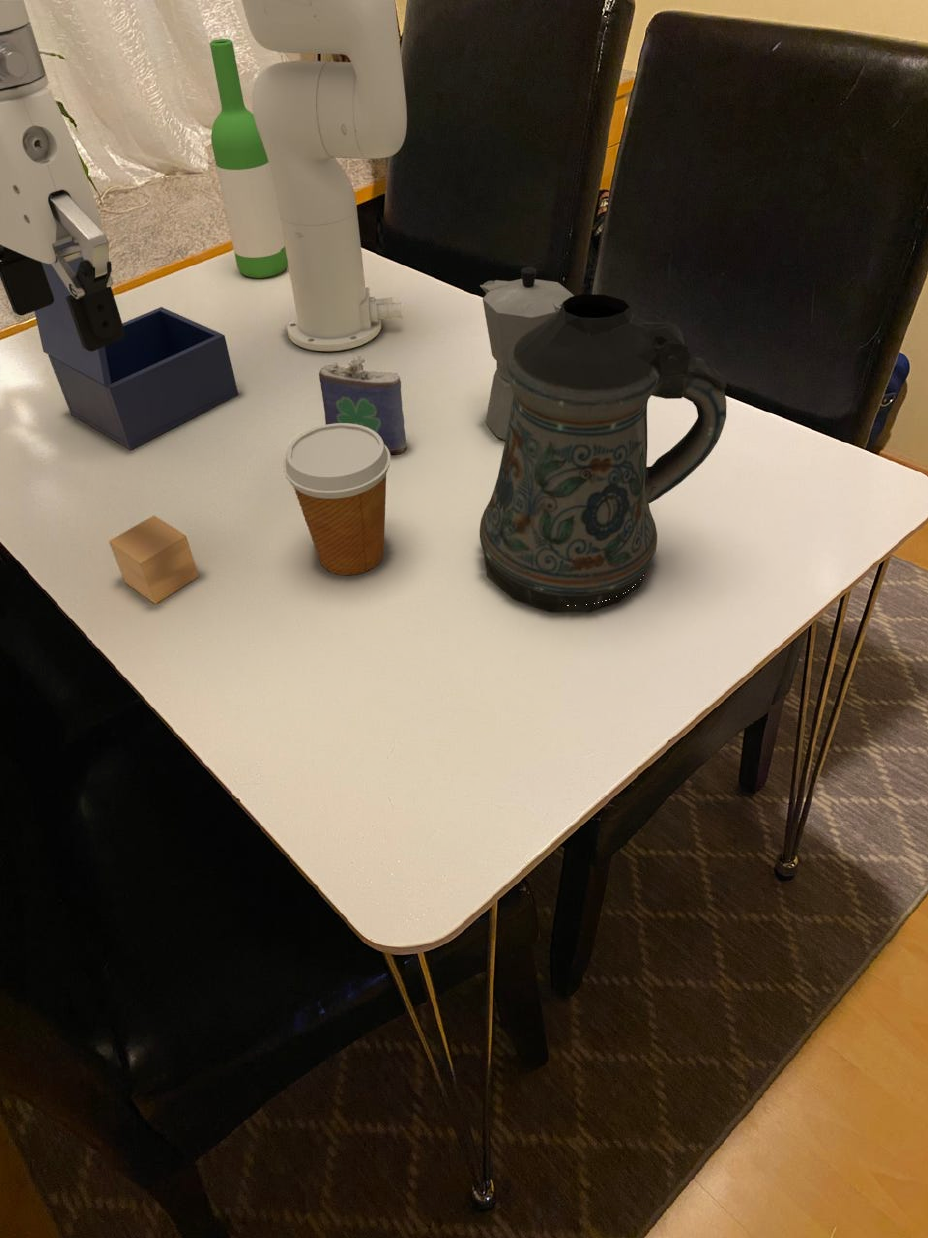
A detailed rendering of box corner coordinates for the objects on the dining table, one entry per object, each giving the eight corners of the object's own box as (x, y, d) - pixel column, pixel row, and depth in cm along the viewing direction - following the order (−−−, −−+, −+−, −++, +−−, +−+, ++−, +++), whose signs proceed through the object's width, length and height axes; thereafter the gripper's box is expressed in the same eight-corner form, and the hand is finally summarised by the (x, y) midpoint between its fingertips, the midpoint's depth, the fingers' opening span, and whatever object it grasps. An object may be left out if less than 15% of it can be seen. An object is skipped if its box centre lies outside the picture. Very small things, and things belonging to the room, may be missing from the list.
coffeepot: (456, 419, 104) (449, 265, 92) (511, 388, 109) (511, 237, 96) (558, 470, 96) (566, 308, 84) (612, 434, 101) (627, 276, 88)
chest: (177, 364, 116) (161, 306, 111) (238, 394, 110) (224, 334, 105) (70, 414, 108) (47, 354, 103) (130, 450, 102) (109, 388, 96)
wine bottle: (296, 260, 139) (260, 34, 119) (278, 281, 134) (236, 48, 113) (250, 257, 141) (206, 33, 120) (230, 278, 135) (179, 47, 115)
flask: (409, 444, 101) (401, 356, 93) (401, 458, 99) (392, 369, 91) (333, 434, 103) (319, 347, 95) (323, 448, 101) (308, 361, 93)
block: (168, 555, 88) (154, 514, 84) (199, 576, 85) (186, 535, 82) (124, 582, 85) (108, 541, 82) (155, 604, 83) (140, 563, 79)
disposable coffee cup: (304, 528, 90) (283, 424, 82) (399, 520, 91) (388, 416, 82) (300, 591, 83) (277, 484, 75) (402, 582, 84) (390, 475, 75)
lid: (16, 195, 93) (-38, 202, 89) (83, 221, 87) (27, 230, 83) (49, 350, 103) (1, 361, 99) (111, 383, 96) (62, 397, 93)
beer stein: (455, 529, 89) (443, 282, 72) (629, 484, 94) (657, 242, 77) (521, 637, 78) (525, 376, 61) (715, 580, 83) (770, 321, 65)
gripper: (107, 68, 53) (179, 339, 65) (-32, 37, 62) (53, 281, 74) (-11, 96, 49) (88, 379, 61) (-143, 58, 58) (-34, 313, 70)
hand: (69, 325), depth 67 cm, fingers open, 9 cm apart
